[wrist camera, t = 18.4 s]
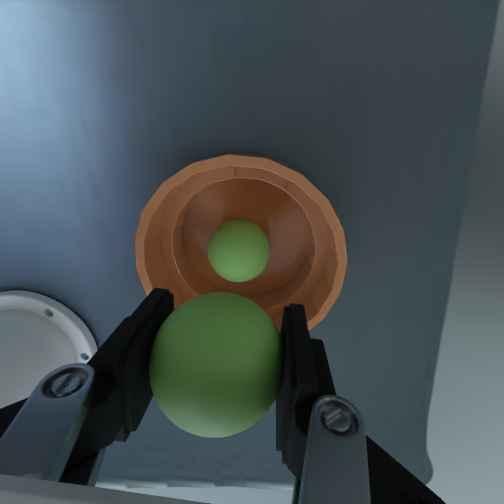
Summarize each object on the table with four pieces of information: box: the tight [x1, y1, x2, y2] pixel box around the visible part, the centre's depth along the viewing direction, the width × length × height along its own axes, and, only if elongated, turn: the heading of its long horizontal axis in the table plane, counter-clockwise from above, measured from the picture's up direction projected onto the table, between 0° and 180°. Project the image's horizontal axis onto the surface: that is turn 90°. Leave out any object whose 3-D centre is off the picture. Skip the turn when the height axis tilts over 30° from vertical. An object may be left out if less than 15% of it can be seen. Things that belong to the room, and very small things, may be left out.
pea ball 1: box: [207, 219, 270, 282], centre depth 20 cm, size 5×5×5 cm
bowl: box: [135, 152, 348, 333], centre depth 20 cm, size 13×13×6 cm
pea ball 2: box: [149, 292, 284, 438], centre depth 10 cm, size 5×5×5 cm
